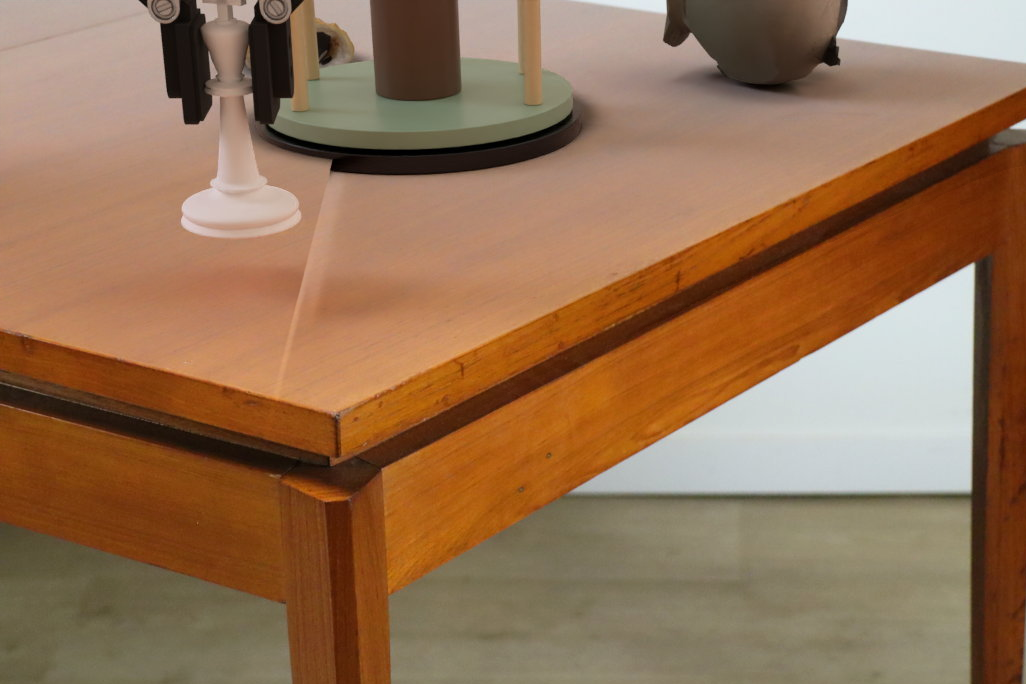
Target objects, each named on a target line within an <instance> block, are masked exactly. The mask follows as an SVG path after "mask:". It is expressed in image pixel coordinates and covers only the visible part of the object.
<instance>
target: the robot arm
mask: <svg viewBox="0 0 1026 684" xmlns="http://www.w3.org/2000/svg"><path fill="white" fill-rule="evenodd" d="M303 1H304V0H257V1H255V4H254V6H253V14H254V15H253V18H252V20H251V21H250V23H249V24H250V25H249V27H248V37H249V50H250V63H251V70H250V74H251V75H250V76H251V77H250V78H251V79H252V90H253V93H252V101H253V103H252V104H253V115H254V116H253V117H254V122H255V121H260V124H274V122H275V119H276V117H277V114H278V112H279V109H280V98H293V95H294V70H293V54H292V38H291V23H290V15H291V14H292V13H293V12H294V11H295V10H296V9H297V7H298V6H299V5H300V4H301V3H302V2H303ZM138 2H140V3H141V4H142V5H143V6H144V7H145V8H146V9H147V10H148V14H149V15H150V17H151V18H152V19H153V20H154V21H155V22H157V23H159V26H160V38H161V48H162V58H163V67H164V68H163V69H164V78H165V88H166V94H167V98H168V99H181V106H182V119H183V124H184V125H185V126H186V125H189V126H190V125H191V126H192V125H196V126H197V125H199V124H200V123H201V122H204V121H205V120H206V118H207V116H208V114H209V112H210V110H211V108H212V106H213V95H210V94H207V93H206V92H205V91H204V89H205V87H206V86H205V83H206V82H207V81H208V80H211V79H212V76H211V64H210V63H211V62H210V53H209V51H208V48H207V46H206V44H205V42H204V40H203V38H202V35H201V31H200V29H201V27H202V25H204V24H205V23H207V18H206V14H205V13H202V11H201V10H202V9H201V8H199V7H198V4H197V0H138Z"/></svg>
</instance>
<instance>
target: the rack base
mask: <svg viewBox="0 0 1026 684" xmlns="http://www.w3.org/2000/svg"><path fill="white" fill-rule="evenodd" d="M582 116H583V115H582V106H581V104H580V103H579V101H578V100H577V99H576V98H575V97H573V108H572V110H571V113H570V114H569V115H568V116H567V117H566V118H565V119H563V120H562V121H560V122H558V123H557V124H555V125H552V126H550V127H548V128H546V129H543V130H540V131H537V132H534V133H531V134H527V135H524V136H520V137H516V138H511V139H507V140H502V141H497V142H491V143H484V144H477V145H469V146H461V147H449V148H437V149H411V150H387V149H363V148H350V147H340V146H332V145H326V144H319V143H314V142H309V141H305V140H301V139H297V138H294V137H291V136H288V135H285V134H283V133H281V132H278V131H276V130H275V129H273V128H272V127H270V126H269V125H268V124H260V121H255V120H254V122H255V123H254V124H255V130H256V132H257V134H258V135H259V136H260V137H261V138H262V140H264V141H265V142H267V143H269V144H270V145H273V146H275V147H277V148H280V149H282V150H286V151H289V152H291V153H295V154H299V155H304V156H308V157H314V158H320V159H327V160H331V163H330V168H329V171H338V172H345V173H346V172H347V173H358V174H371V175H376V174H377V175H378V174H379V175H423V174H426V175H427V174H443V173H454V172H464V171H465V172H466V171H473V170H481V169H482V170H483V169H488V168H493V167H499V166H500V167H501V166H505V165H511V164H514V163H518V162H523V161H526V160H531V159H534V158H537V157H540V156H544V155H545V154H549V153H551V152H554V151H557V150H559V149H560V148H562V147H564V146H566V145H568V144H570V143H571V142H572V141H574V140H575V139H576V138H577V137H578V135H579V134H580V132H581V129H582V128H583V127H582V126H583V125H582V124H583V123H582V119H583V118H582Z"/></svg>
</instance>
